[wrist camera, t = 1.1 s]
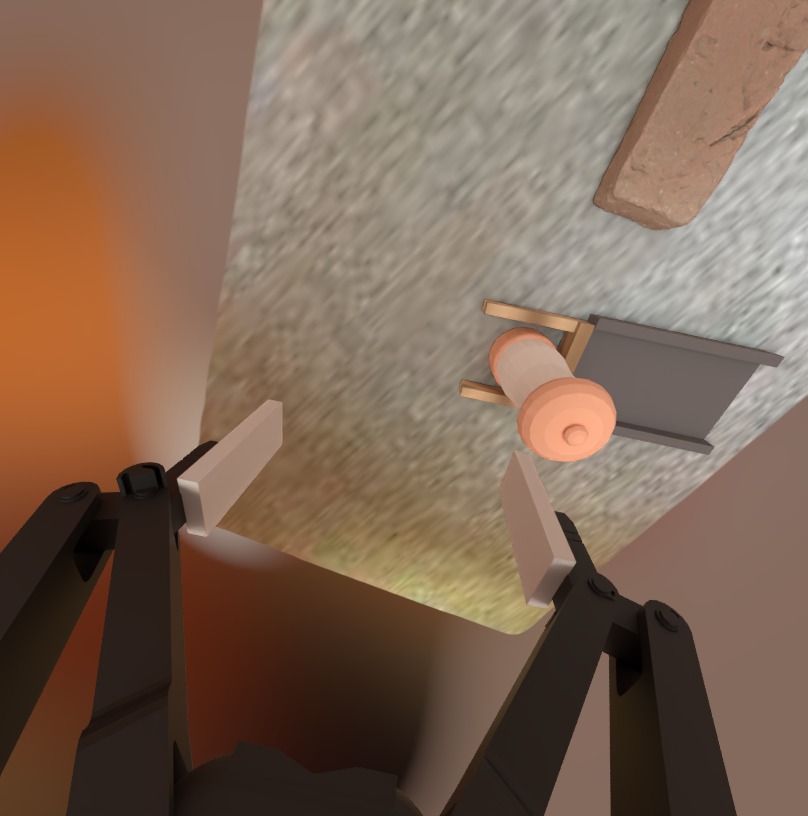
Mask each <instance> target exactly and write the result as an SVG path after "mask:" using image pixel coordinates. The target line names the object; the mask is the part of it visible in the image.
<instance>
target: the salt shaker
mask: <svg viewBox="0 0 808 816" xmlns="http://www.w3.org/2000/svg"><path fill="white" fill-rule="evenodd" d="M489 364H490V368H491V370H492V373H493V375H494V377H495V379H496V381H497V383H498V384H499V385H500V386H501V387H502V389H503V391H504V393H505V395H506V396H507V397H508V398H509V399H510V400H511V401H512V402H513V403H514V404H515V405H516V406H517V407H518V409H519V411H520V412H519V416H518V420H517V422H518V433H519V435H520V437H521V439H522V441H523V443H524V444H525V445H526V446H528V447H529V448H530V449H531V450H532V451H533V452H534V453H535V454H537V455H539V456H541V457H543V458H546V459H549V460H555V461H562V462H567V461H577V460H580V459H583V458H586V457H588V456H590V455H592V454H594V453H595V452H597V451H598V450H600V449H601V448H602V447H603V446H604V445H605V443H606V442H607V441H608V440H609V438H610V436H611V434H612V432H613V430H614V428H615V425H616V414H617V412H616V409H615V407H614V404H613V401H612V398H611V396H610V395H609V393H608V392H607V391H606V390H605V389H604V388H603V387H602V386H601V385H599V384H597V383H595V382H592V381H590V380H588V379H581V378H575V377H574V376H573V375H572V373H571V371H570V369H569V367H568V365H567V363H566V361H565V359H564V358H563V357H562V356H561V355H560V353H559V352H558V351H557V350H556V347H555V346H554V345H553V343H552V342H551V341H550V340H549V339H548V338H546V337H545V336H544V335H543V334H542V333H541V332H539V331H537V330H535V329H533V328H526V327H520V328H514V329H511V330H509V331H507V332H505V333H503V334H502V335H501V336H500V337H499V338H498V339H497V340H496V341H495V343H494V344H493V346H492V348H491V350H490V355H489Z"/></svg>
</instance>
